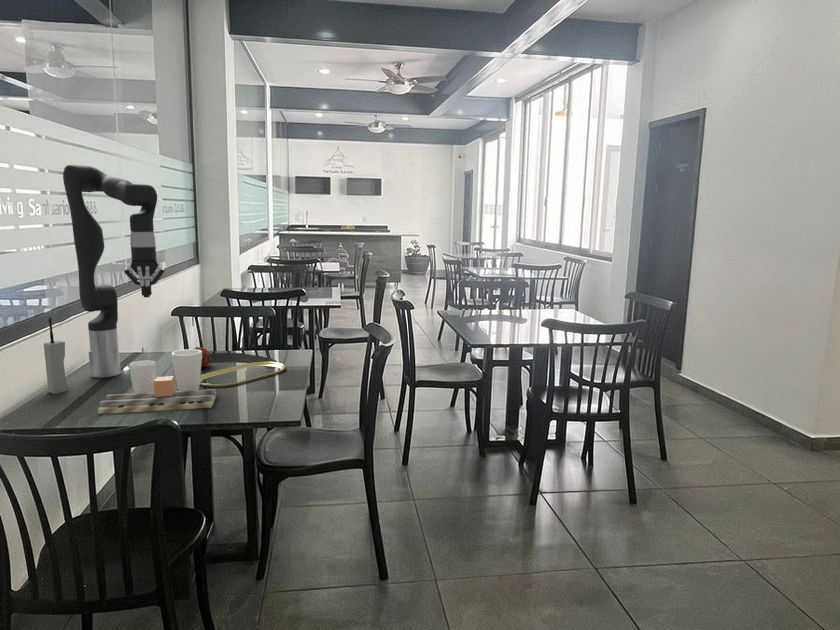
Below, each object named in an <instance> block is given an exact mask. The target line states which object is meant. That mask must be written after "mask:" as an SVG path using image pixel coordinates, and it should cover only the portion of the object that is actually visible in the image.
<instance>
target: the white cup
mask: <svg viewBox="0 0 840 630" xmlns="http://www.w3.org/2000/svg"><path fill="white" fill-rule="evenodd" d="M156 364H157V362H156V361H155V360H150V359H148V360H144V359H143V360H136V361H132V362H130V363H129V366H128V367H129V372H130V373H129V374H130V379H131V386H132V393H152V392H154V380H155V379H156V378H157V372H156V371H157V370H156V369H157V368H156V367H157V366H156Z"/></svg>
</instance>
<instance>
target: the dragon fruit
mask: <svg viewBox="0 0 840 630" xmlns="http://www.w3.org/2000/svg"><path fill="white" fill-rule="evenodd" d="M194 349H197V350H201V351H202V360H201V369H203V368H204V367H205V366H208V364H209V362H210V361H212V359H211V355H210V352H209V351H208V349H206V348H204V347H201V346H200V347H199V346H196V347H194Z"/></svg>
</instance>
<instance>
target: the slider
mask: <svg viewBox="0 0 840 630" xmlns="http://www.w3.org/2000/svg"><path fill="white" fill-rule="evenodd" d="M175 383H176V382H175V376H174V375H170V376H168V375H167V376H156V379H155V380H154V394H155V398H166V397H175V391H176V385H175Z"/></svg>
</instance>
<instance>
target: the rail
mask: <svg viewBox="0 0 840 630" xmlns="http://www.w3.org/2000/svg"><path fill="white" fill-rule="evenodd" d="M216 399H217V391H216V389H215V388H213V389H211V388H210V389H199V390H191V391H179V390H175V397H166V398H155V394H154V392H152V393H133V392H131V393H118V394H116V393H115V394H114V393H113V394H107V395H106V400H101V401H99V405H100V407H98V408H97V412H98V413H97V414H98V415H103V414H104V415H105V414H123V413H124V414H125V413H140V412H157V411H158V412H159V411H177V410H191V409H208V408H209V409H211V408H213V406H214V403H215V400H216Z"/></svg>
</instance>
